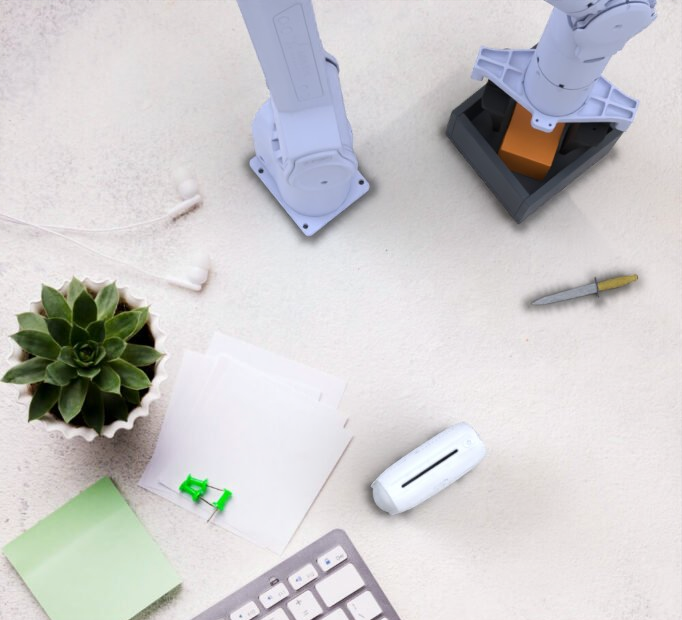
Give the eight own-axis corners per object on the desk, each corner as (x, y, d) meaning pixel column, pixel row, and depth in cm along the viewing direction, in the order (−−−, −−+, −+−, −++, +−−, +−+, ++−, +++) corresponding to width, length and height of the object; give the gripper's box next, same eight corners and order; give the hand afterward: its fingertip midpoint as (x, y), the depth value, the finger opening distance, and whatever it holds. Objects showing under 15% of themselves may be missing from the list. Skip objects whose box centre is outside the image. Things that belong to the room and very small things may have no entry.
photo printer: (450, 427, 84) (471, 410, 72) (474, 464, 84) (499, 452, 71) (363, 485, 84) (369, 477, 71) (387, 521, 84) (397, 520, 71)
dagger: (534, 313, 84) (530, 293, 84) (532, 314, 85) (528, 294, 84) (640, 287, 83) (637, 266, 83) (637, 287, 84) (633, 267, 84)
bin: (444, 133, 84) (451, 110, 80) (535, 61, 85) (547, 34, 80) (518, 224, 84) (529, 206, 80) (609, 152, 85) (624, 130, 80)
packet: (493, 165, 84) (500, 149, 80) (516, 98, 84) (524, 79, 81) (541, 181, 84) (550, 166, 80) (564, 115, 84) (574, 97, 81)
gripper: (470, 71, 69) (447, 147, 82) (640, 130, 69) (589, 196, 82) (499, -10, 69) (471, 79, 83) (668, 49, 69) (612, 128, 83)
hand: (531, 133), depth 82 cm, fingers open, 6 cm apart
